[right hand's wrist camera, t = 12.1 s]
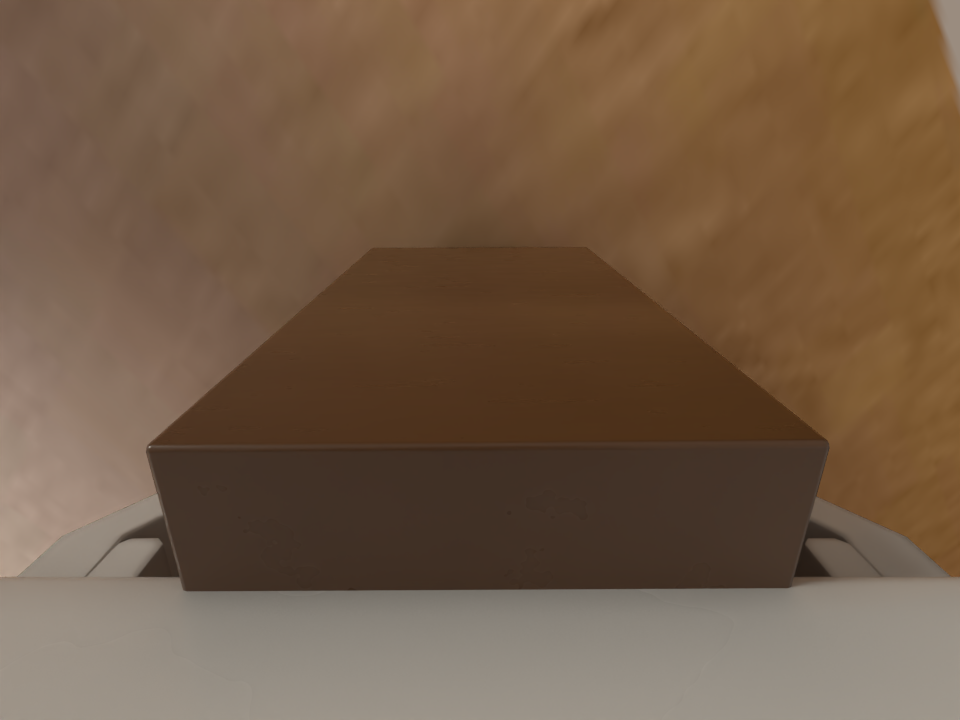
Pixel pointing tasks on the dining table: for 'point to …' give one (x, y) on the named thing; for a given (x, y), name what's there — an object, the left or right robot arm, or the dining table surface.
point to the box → (485, 441)
